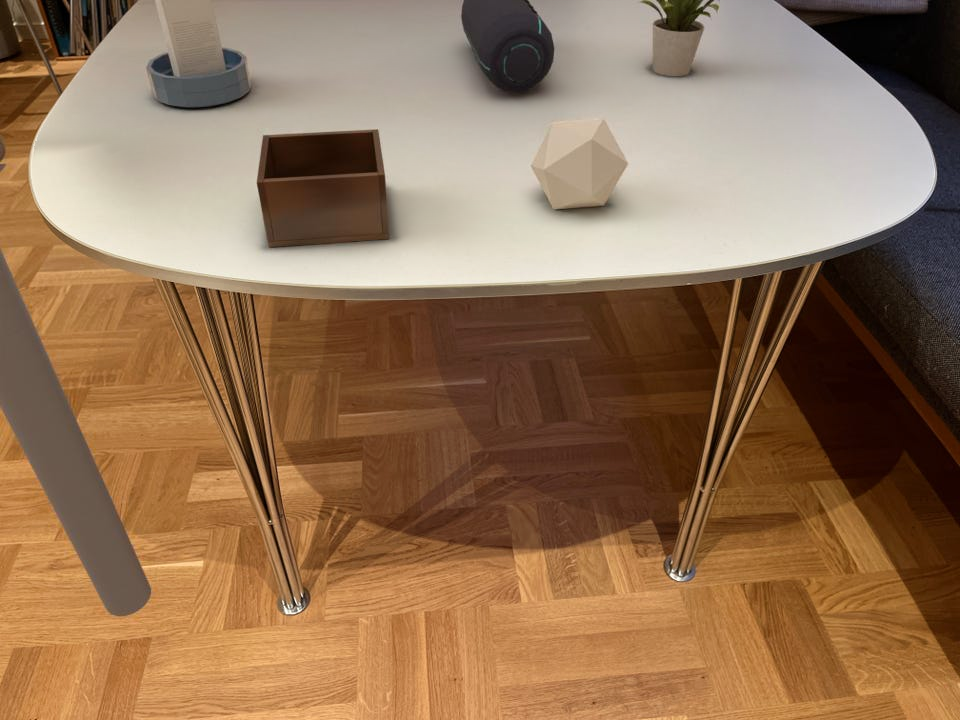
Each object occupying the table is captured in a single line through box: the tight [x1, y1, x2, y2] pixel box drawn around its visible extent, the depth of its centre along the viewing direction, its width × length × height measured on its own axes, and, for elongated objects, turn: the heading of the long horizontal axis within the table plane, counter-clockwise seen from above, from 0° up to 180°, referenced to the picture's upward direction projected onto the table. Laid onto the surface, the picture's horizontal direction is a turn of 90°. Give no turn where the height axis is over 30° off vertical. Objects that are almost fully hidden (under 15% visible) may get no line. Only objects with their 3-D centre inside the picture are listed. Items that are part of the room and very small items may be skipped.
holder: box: [256, 128, 390, 248], centre depth 74 cm, size 11×10×7 cm
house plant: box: [637, 0, 720, 77], centre depth 105 cm, size 14×14×16 cm
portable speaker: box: [460, 0, 555, 93], centre depth 106 cm, size 25×10×10 cm, turn 9°
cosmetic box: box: [154, 0, 226, 77], centre depth 97 cm, size 6×4×12 cm
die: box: [530, 118, 629, 211], centre depth 77 cm, size 8×9×10 cm
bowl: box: [145, 47, 252, 109], centre depth 100 cm, size 12×12×4 cm
